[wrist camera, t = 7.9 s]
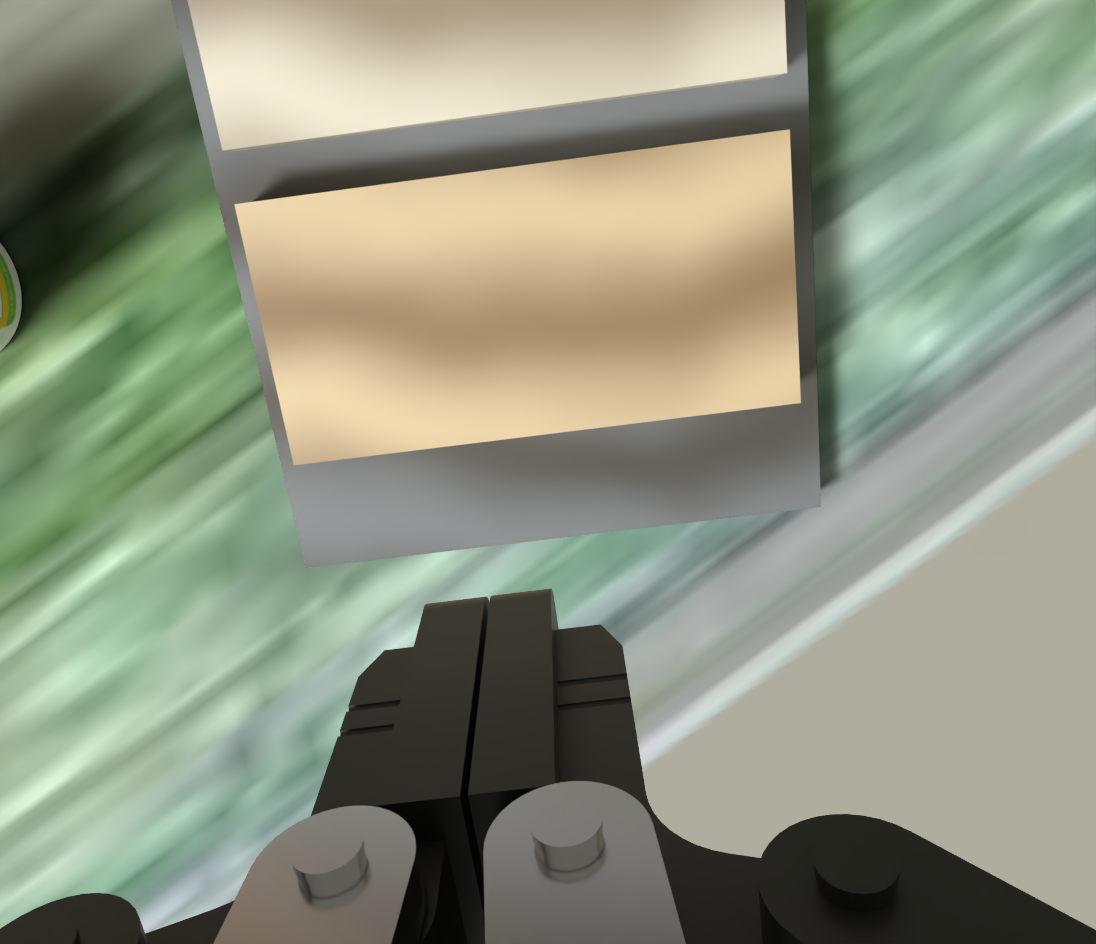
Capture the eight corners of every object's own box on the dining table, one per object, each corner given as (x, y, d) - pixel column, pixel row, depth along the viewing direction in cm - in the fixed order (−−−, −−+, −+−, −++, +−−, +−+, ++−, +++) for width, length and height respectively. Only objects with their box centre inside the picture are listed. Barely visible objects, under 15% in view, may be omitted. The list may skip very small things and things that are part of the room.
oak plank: (251, 202, 28) (234, 204, 26) (776, 131, 27) (789, 129, 26) (306, 450, 30) (293, 465, 29) (787, 390, 30) (800, 403, 28)
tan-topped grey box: (149, -150, 26) (105, -183, 23) (786, -246, 25) (814, -291, 23) (314, 553, 33) (294, 588, 31) (811, 494, 33) (834, 524, 30)
